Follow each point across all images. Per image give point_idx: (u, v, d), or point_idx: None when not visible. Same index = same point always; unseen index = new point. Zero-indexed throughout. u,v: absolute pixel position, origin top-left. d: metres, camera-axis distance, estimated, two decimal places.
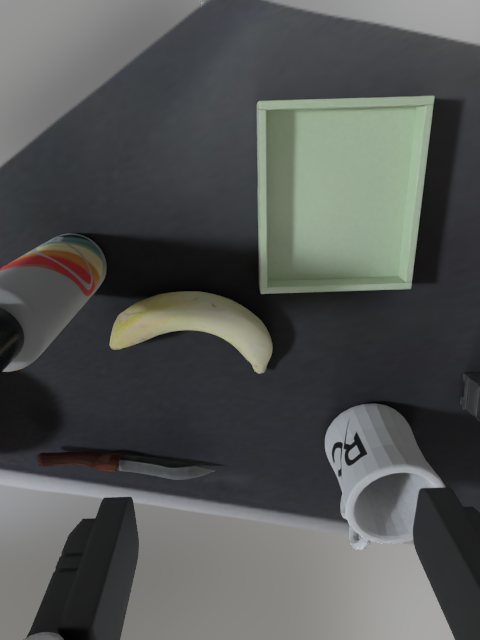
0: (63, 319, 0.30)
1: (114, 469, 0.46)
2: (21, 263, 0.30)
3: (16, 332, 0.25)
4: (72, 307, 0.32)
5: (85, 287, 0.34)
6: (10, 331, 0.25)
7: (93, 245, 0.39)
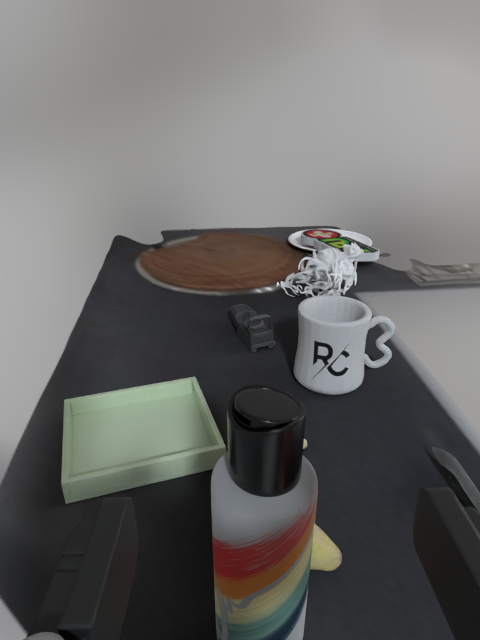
0: None
1: None
2: (213, 547, 0.25)
3: None
4: None
5: None
6: None
7: None
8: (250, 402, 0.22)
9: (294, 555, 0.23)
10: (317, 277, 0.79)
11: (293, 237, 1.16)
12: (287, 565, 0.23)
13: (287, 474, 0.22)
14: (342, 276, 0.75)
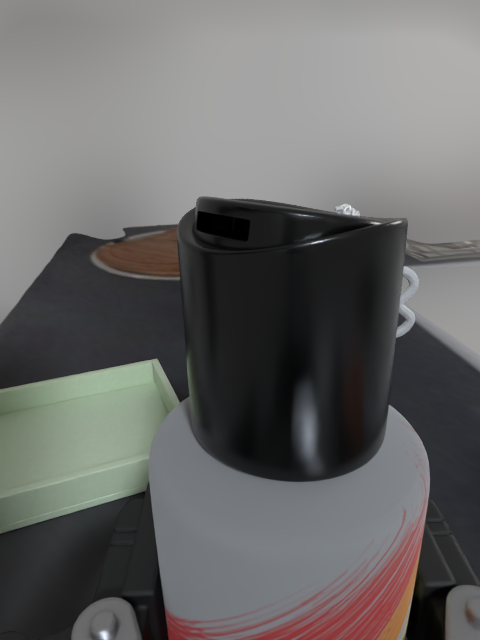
0: None
1: None
2: None
3: None
4: None
5: None
6: None
7: None
8: None
9: None
10: None
11: None
12: None
13: (365, 405, 0.07)
14: None
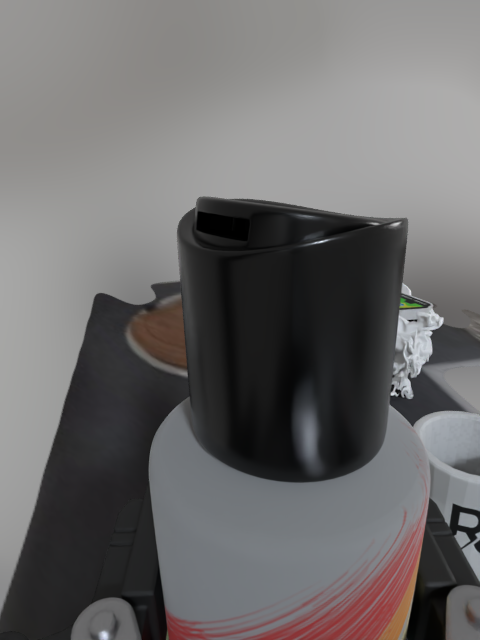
0: None
1: None
2: (168, 632, 0.10)
3: None
4: None
5: None
6: None
7: None
8: None
9: None
10: None
11: None
12: None
13: (366, 406, 0.07)
14: (419, 355, 0.56)
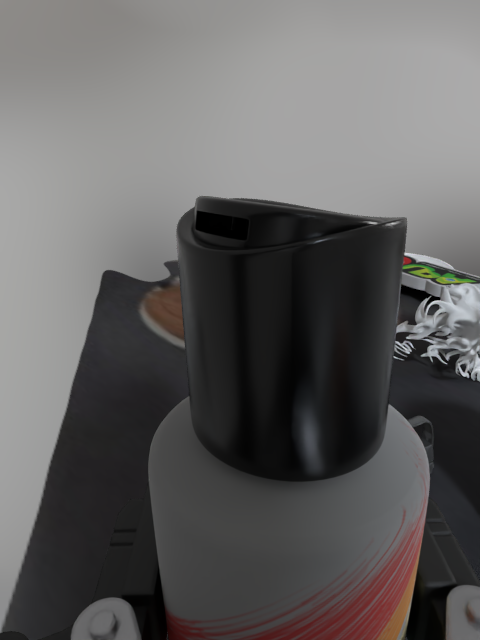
0: None
1: None
2: None
3: None
4: None
5: None
6: None
7: None
8: None
9: None
10: (446, 330, 0.50)
11: None
12: None
13: (364, 405, 0.07)
14: None
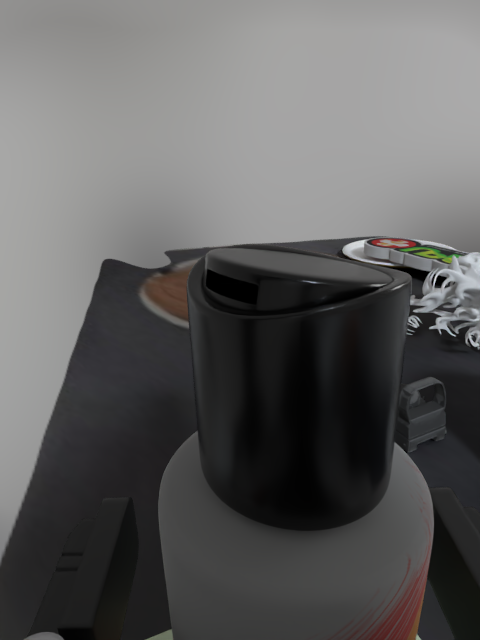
0: None
1: None
2: None
3: None
4: None
5: None
6: None
7: None
8: (251, 256, 0.08)
9: None
10: (455, 302, 0.48)
11: (348, 250, 0.86)
12: None
13: (371, 458, 0.07)
14: None
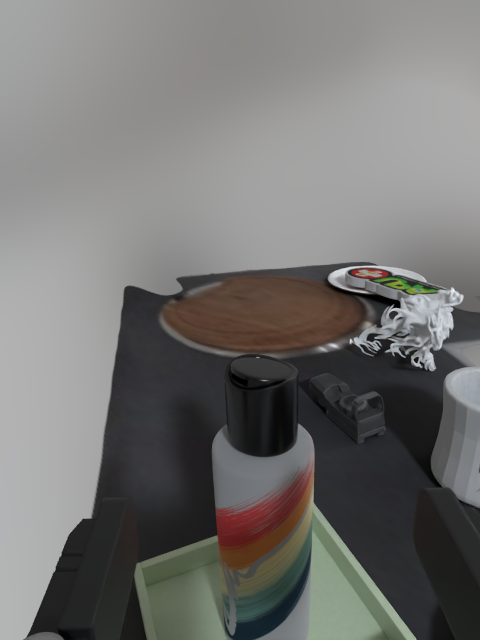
0: None
1: None
2: (217, 520, 0.26)
3: None
4: None
5: None
6: None
7: None
8: (245, 366, 0.23)
9: (296, 515, 0.24)
10: (405, 331, 0.63)
11: (332, 278, 1.02)
12: (290, 526, 0.24)
13: (285, 432, 0.23)
14: (441, 330, 0.60)
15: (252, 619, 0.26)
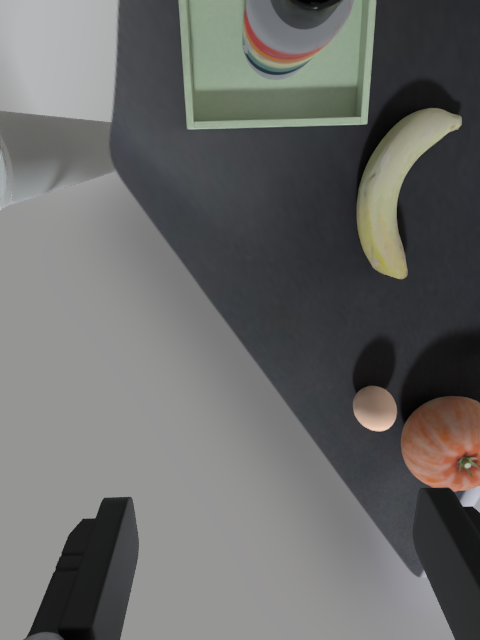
0: None
1: None
2: None
3: None
4: None
5: None
6: None
7: None
8: None
9: (305, 57, 0.27)
10: None
11: None
12: (297, 60, 0.28)
13: (315, 23, 0.22)
14: None
15: (257, 64, 0.34)
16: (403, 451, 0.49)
